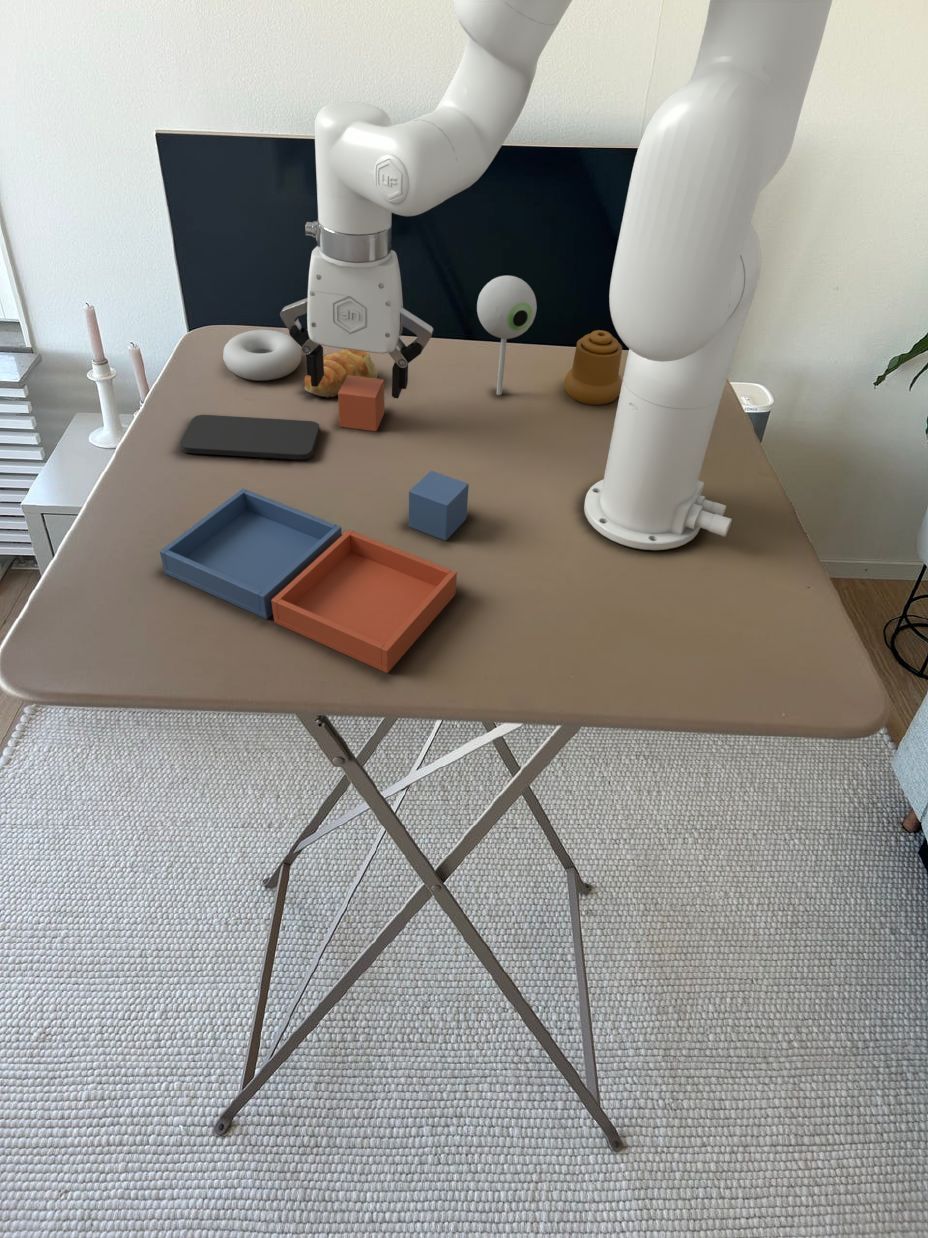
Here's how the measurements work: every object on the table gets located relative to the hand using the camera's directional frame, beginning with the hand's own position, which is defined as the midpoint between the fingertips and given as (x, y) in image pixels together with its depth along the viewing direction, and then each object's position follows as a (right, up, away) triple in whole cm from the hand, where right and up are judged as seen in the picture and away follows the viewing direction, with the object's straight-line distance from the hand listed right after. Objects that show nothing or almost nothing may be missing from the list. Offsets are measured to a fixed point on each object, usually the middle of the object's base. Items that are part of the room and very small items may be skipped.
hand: (357, 386), depth 104 cm
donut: (-14, +5, +11) cm, 18 cm away
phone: (-12, -7, -2) cm, 14 cm away
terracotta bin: (+4, -26, -22) cm, 34 cm away
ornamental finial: (+29, +2, +11) cm, 31 cm away
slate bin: (-8, -22, -18) cm, 29 cm away
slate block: (+10, -17, -12) cm, 23 cm away
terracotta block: (0, -3, +3) cm, 4 cm away
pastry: (-3, +3, +9) cm, 10 cm away
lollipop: (+17, +1, +9) cm, 19 cm away
